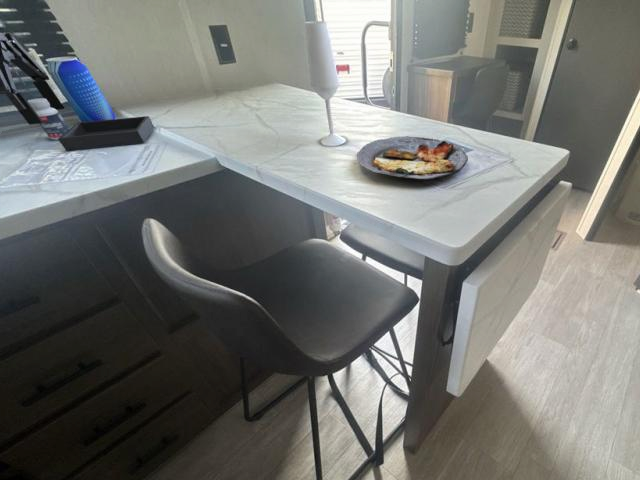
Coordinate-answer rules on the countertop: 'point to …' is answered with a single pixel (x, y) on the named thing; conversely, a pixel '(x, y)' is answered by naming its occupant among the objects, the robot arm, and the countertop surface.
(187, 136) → the countertop surface
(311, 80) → the champagne flute
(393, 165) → the food plate
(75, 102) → the beer can
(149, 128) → the tray
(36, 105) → the pill bottle
